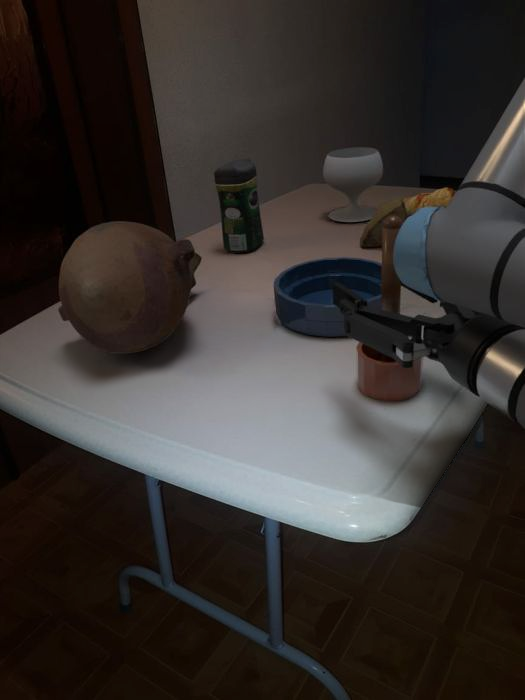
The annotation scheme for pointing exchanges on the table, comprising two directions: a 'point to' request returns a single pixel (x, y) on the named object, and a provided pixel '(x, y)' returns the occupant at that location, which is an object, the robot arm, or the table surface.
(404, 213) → the rock
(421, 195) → the croissant
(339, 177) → the chalice
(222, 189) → the coffee jar
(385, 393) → the crock
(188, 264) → the jug
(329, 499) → the table surface
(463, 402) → the table surface
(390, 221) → the paper towel holder
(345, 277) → the bowl
